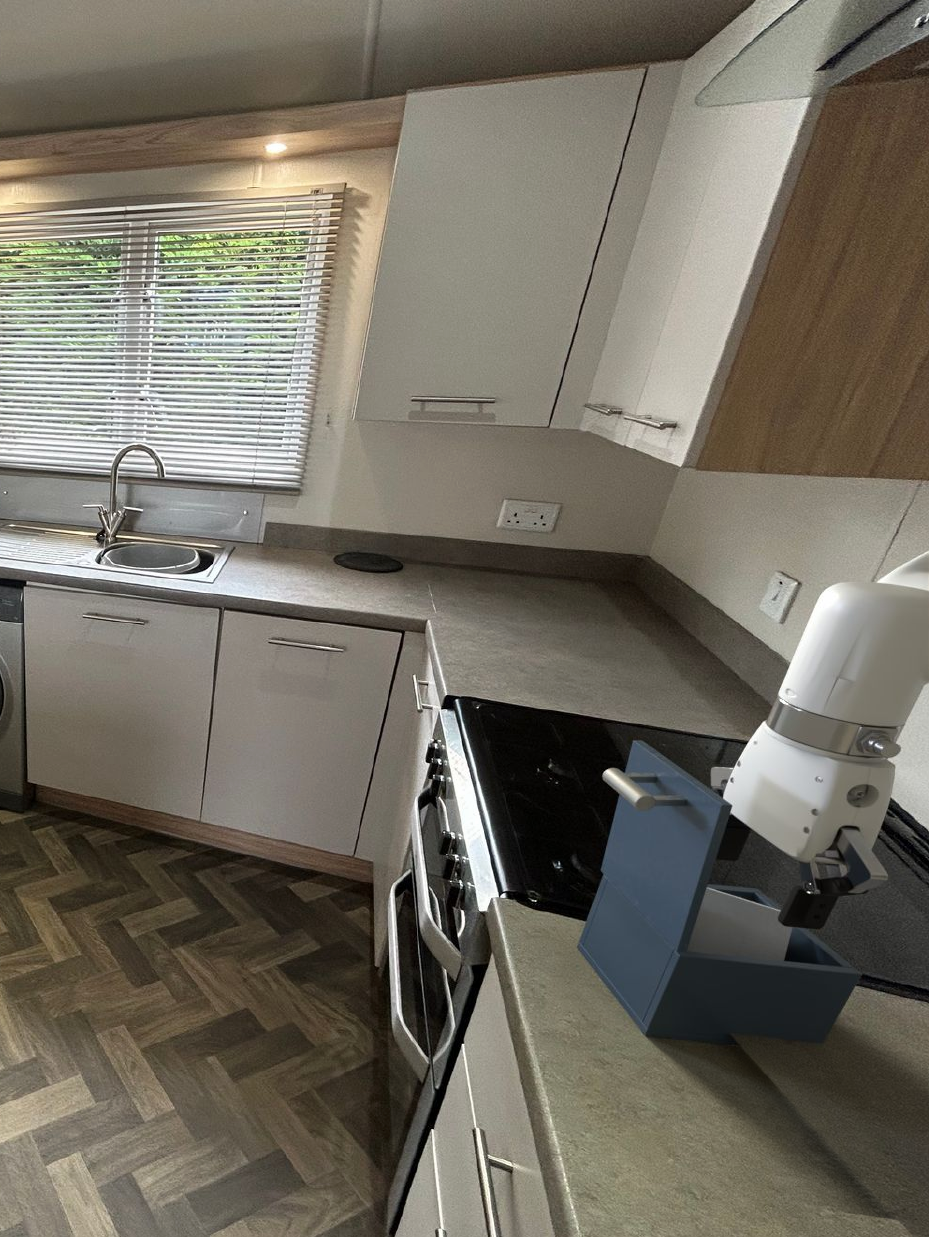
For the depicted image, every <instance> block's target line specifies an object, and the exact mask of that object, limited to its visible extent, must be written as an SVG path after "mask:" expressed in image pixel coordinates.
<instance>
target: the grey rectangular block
mask: <svg viewBox="0 0 929 1237" xmlns="http://www.w3.org/2000/svg"><path fill="white" fill-rule="evenodd" d="M779 914H780V910H777V909H774V908H771V907H768V906H765V905H762V904H758V903H755V902H752V901H749V900H746V899H743V898H739V897H736V896H733V895H730V894H727V893H724V892H720V891H717V890H714V889H711V888H708V887H707V888H706V891H705V895H704V898H703V901H702V904H701V907H700V910H699V914H698V917H697V920H696V923H695V926H694V929H693V933H692V936H691V939H690V942H689V945H688V949H687V951H690V952H700V953H710V954H719V955H729V956H739V957H749V958H759V959H768V960H778V961H784V958H785V954H786V950H787V947H788V943H789V939H790V935H791V931H792V928H793V927H786V926H783V925H782V924H781V923H780V922H779V921H778V916H779Z"/></svg>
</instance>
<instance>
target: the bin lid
mask: <svg viewBox="0 0 929 1237" xmlns="http://www.w3.org/2000/svg"><path fill="white" fill-rule="evenodd" d="M602 780H603V781H604V782H605V783H606V784H608V785H609V787H611V788H612V789H613V790H614V791H616V793H618V794H619V796H618V799H617V803H616V807H615V811H614V816H613V820H612V824H611V827H610V832H609V835H608V839H607V844H606V848H605V852H604V856H603V859H602V864H601V868H600V872H601V873H602V874H603V875H605V876H606V877H607V878H608V879H609V880H610V881H611V882H612V883H613V884H614V885H615V886H616V887H617V889H618V890H619V891H620V892H621V893H622V894H623V895H624V896H625V897H626V898H627V899H628V900H629V901H630V902H631V903H632V904H633V906H634V907H635V908H636V909H637V910H638V911H639V912H640V913H641V914H642V915H643V916H644V917H645V918H646V919H647V920H648V921H649V922H650V924H651V925H652V926H653V927H654V928H655V929H656V930H657V931H658V932H659V933H660V934H661V935H662V936H663V937H664V938H665V939H666V941H667V942H668V943H669V944H670V945H671V946H672V947H673V948H674V949H675V950H676V951H677V952H687V949H688V945H689V942H690V939H691V936H692V933H693V929H694V926H695V923H696V920H697V917H698V914H699V910H700V907H701V904H702V901H703V898H704V895H705V891H706V888H707V885H708V884H709V882H710V879H711V876H712V873H713V869H714V865H715V863H716V861H717V860H716V857H717V853H718V850H719V847H720V844H721V841H722V838H723V834H724V831H725V828H726V825H727V822H728V818H729V815H730V812H731V809H732V804H730V803H729V802H727V801H726V800H725V799H723V798H722V797H720V796H719V795H718V794H716V793H715V792H713V791H712V790H711V789H712V788H709V787H708V786H706V785H705V784H703V783H702V782H701V781H700V780H698V779H697V778H695V777H694V776H692V775H691V774H690V773H689V772H687V771H686V770H684V769H683V768H682V767H680V766H679V765H677V764H676V763H675V762H674V761H673V762H672V760H670V759H669V758H667V757H666V756H664V755H663V754H662V753H660V752H659V751H657V749H655V748H653V747H652V746H651V745H649V744H648V743H646V742H645V741H643V740H641V739H640V740H639V739H637V740H636V739H635V740H632V744H631V747H630V751H629V755H628V759H627V764H626V767H625V771H624V772H623V771H621V769H619V768H616V767H610V768H608V769H606V770H605V771H603V773H602Z"/></svg>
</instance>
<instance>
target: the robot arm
mask: <svg viewBox="0 0 929 1237" xmlns="http://www.w3.org/2000/svg"><path fill="white" fill-rule="evenodd" d="M796 647H797V648H796V649H795V652H794V655H793V657H792V658H791V662H790V664H789V667H788V669H787V671H786V674H785V675H784V678H783V681H782V682H781V683H782V684H781V686H780V688H779V691H778V692H777V695H776V698H775V700H774V702H773V704H772V707H771V709H770V712H769V714H768V717H767V719H766V720H763V722H762V723H761V724H760V726H758V727H757V729H756V731H755V732H754V734H753V735H752V736H751V737H750V739H749V740H748V742H747V744H746V745H745V747H744V749H743V751H742V752H741V754H740V755H739V758H738V760H737V761H736V763H735V765H734V767H721V766H713V767H711V769H710V787H712V788H710V789H711V790H712V791H713V792H715V793H716V794H718V795H719V796H720V797H722V798H723V799H725V800H726V801H727V802H729V803H730V804H732V809H731V812H730V815H729V818H728V822H727V825H726V828H725V831H724V834H723V838H722V841H721V844H720V847H719V850H718V853H717V857H716V860H715V861H726V862H727V861H728V862H737V861H739V859H740V856H741V855H742V852H743V849H744V847H745V845H746V843H747V841H748V838H749V836H750V834H751V830H753V832H755V833H756V834H758V835H760V836H761V837H762V838H764V839H765V840H766V841H768V842H769V843H770V844H771V845H773V846H774V847H775V848H777V849H779V850H780V851H782V852H783V853H784V854H785V855H787V856H788V857H790V858H792V859H793V860H795V861H796V863H797V869H798V873H799V877H800V882H801V885H795V884H793V886H792V887H791V889H790V891H789V892H788V895H787V896H786V899H785V901H784V903H783V905H782V907H781V908H782V909H781V911H780V914H779V916H778V921H779V922H780V923H781V924H782V925H783V926H786V927H796V928H806V929H807V930H821V929H823V928H824V927H825V925H826V923H827V921H828V919H829V917H830V915H831V913H832V911H833V909H834V907H835V905H836V903H837V902H838V900H839V898H840V897H841V898H850V897H851V896H859V895H866V894H868V893H869V890H872V889H874V888H876V887H879V886H881V885H883V884H884V883H886V882H887V881H888V880H889V874H888V873H887V871H886V869H885V867H883V865H882V864H881V862H880V860H879V859H878V858H877V856H876V855H875V853H874V851H873V847H874V844H875V843H876V840H877V838H878V836H879V833H880V831H881V828H882V826H883V823H884V820H885V818H886V814H887V812H888V808H889V805H890V803H891V802H890V801H891V797H892V794H893V789H894V784H895V778H896V777H895V775H896V765H895V763H893V762H891V761H890V760H889V759H891V758H894V757H897V756H898V755H899V754H900V753H901V752H902V751H901V750H902V747H901V745H900V744H898V743H897V741H898V739H899V738H900V735H901V733H902V732H903V729H904V728H905V726H906V723H907V722H908V719H909V717H910V715H911V713H912V711H913V709H914V707H915V705H916V703H917V701H918V699H919V697H920V695H921V694H922V691H923V689H924V687H925V686H926V685H928V684H929V550H927V551H926V552H924V553H922V554H920V555H918V556H916V557H915V558H912V559H910V560H909V561H907V562H905V563H904V564H902V565H900V566H898V567H896V568H895V569H893V570H892V571H890V572H889V573H887V574H885V576H883V577H881V578H880V579H878V580H877V581H863V580H859V581H858V580H857V581H854V580H853V581H842V582H838V583H835V584H833V585H830V586H829V587H827V588H825V589H824V591H822V592H821V594H820V596H819V597H818V599H817V601H816V603H815V605H814V608H813V610H812V612H811V615H810V617H809V619H808V621H807V624H806V626H805V628H804V631H803V633H802V636H801V638H800V641H799V643H798V645H797V646H796ZM823 853H824V855H822V854H823ZM819 854H820V855H819ZM818 865H819V866H825V868H826V872H827V876H828V877H827V878H821V876H820V872H819V868H818ZM847 866H849V871H848V868H847Z"/></svg>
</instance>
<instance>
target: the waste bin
mask: <svg viewBox="0 0 929 1237" xmlns="http://www.w3.org/2000/svg"><path fill="white" fill-rule="evenodd" d="M707 887H708V888H711V889H714V890H717V891H720V892H724V893H727V894H730V895H733V896H736V897H739V898H743V899H746V900H749V901H752V902H755V903H758V904H762V905H765V906H768V907H771V908H774V909H777V910H780V911H781V909H782V907H781V906H779V905H778V904H777V903H776V902H774V901H773V899H771V898H770V897H769V896H767V895H766V894H765V893H764V892H762V890H760V889H759V888H754V887H744V886H732V885H723V884H713V883H711V884H710V883H708V885H707ZM576 948H577V950H578V951H579V952H580V953H581V955H582V957H583V958H584V959H585V960H586V962H587V963H588V964H589V966H590V967H591V968H592V969H593V971H594V972H595V973H596V974H597V976H598V977H599V978H600V980H601V981H602V983H603V984H604V985H605V986H606V988H608V990H609V991H610V993H611V994H612V995H613V996H614V998H615V999H616V1000H617V1001H618V1003H619V1004H620V1005H621V1007H622V1008H623V1009H624V1010H625V1012H626V1013H627V1015H628V1016H629V1017H630V1018H631V1019H632V1021H633V1023H635V1025H636V1026H637V1028H638V1029H639V1030H640V1031H641V1032H642V1034H643V1035H644V1036H645V1037H653V1038H661V1039H670V1040H678V1041H679V1040H680V1041H687V1042H697V1043H705V1044H712V1045H723V1046H730V1047H740V1048H741V1047H742V1046H741V1044H739V1042H738V1041H737V1040H736V1039H735V1038H734V1037H733V1036H732V1034H735V1035H744V1036H752V1037H760V1038H761V1037H762V1038H768V1039H769V1038H770V1039H779V1040H787V1041H795V1042H797V1041H798V1042H804V1043H805V1042H806V1043H814V1044H821V1045H823V1044H824V1043H825V1041H826V1039H827V1038H828V1036H829V1035H830V1032H831V1030H832V1029H833V1027H834V1025H835V1023H836V1022H837V1020H838V1018H839V1016H840V1014H841V1013H842V1011H843V1009H844V1008H845V1006H846V1004H847V1002H848V1001H849V998H850V997H851V994H852V993H853V991H854V990H855V988H856V986H857V985H858V983H859V981H860V979H861V977H862V973H861V972H859V971H858V970H857V969H856V968H854V966H852V965H851V964H850V963H849V962H848V961H846V960H845V959H844V958H842V956H841V955H839V954H838V953H837V952H835V951H834V950H833V949H832V948H830V947H829V946H828V945H827V944H826V943H824V942H823V940H821V939H820V938H819V937H817V935H814V933H813V932H812V931H810V929H807V928H796V927H793V928H792V931H791V935H790V939H789V943H788V947H787V950H786V954H785V958H784V961H778V960H768V959H759V958H749V957H739V956H729V955H719V954H710V953H700V952H690V951H687V952H677V951H676V950H675V949H674V948H673V947H672V946H671V945H670V944H669V943H668V942H667V941H666V939H665V938H664V937H663V936H662V935H661V934H660V933H659V932H658V931H657V930H656V929H655V928H654V927H653V926H652V925H651V924H650V922H649V921H648V920H647V919H646V918H645V917H644V916H643V915H642V914H641V913H640V912H639V911H638V910H637V909H636V908H635V907H634V906H633V904H632V903H631V902H630V901H629V900H628V899H627V898H626V897H625V896H624V895H623V894H622V893H621V892H620V891H619V890H618V889H617V887H616V886H615V885H614V884H613V883H612V882H611V881H610V880H609V879H608V878H607V877H606V876H605V875H604V874H603V875H602V877H601V880H600V883H599V885H598V888H597V891H596V893H595V896H594V899H593V901H592V905H591V908H590V910H589V913H588V915H587V917H586V921H585V924H584V926H583V928H582V931H581V934H580V937H579V939H578V943H577V945H576Z"/></svg>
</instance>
